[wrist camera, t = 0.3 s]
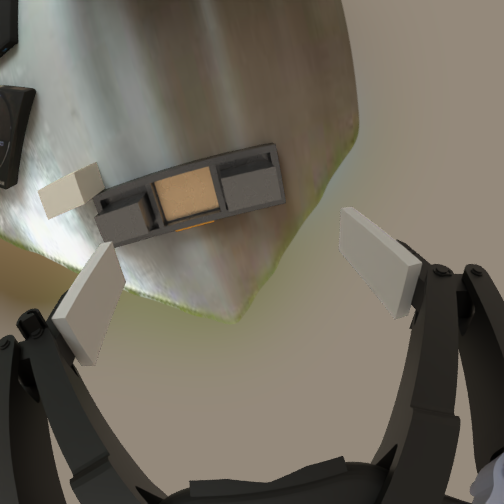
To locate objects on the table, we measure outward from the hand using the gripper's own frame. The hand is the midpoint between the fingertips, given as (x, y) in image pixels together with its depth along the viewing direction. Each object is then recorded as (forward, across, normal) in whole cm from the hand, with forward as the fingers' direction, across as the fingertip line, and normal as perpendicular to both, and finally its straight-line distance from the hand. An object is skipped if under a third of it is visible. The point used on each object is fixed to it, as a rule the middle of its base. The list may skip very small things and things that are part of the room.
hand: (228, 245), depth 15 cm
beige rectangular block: (+27, -22, +2) cm, 35 cm away
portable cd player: (+28, -40, +17) cm, 51 cm away
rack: (+27, -5, -4) cm, 28 cm away
